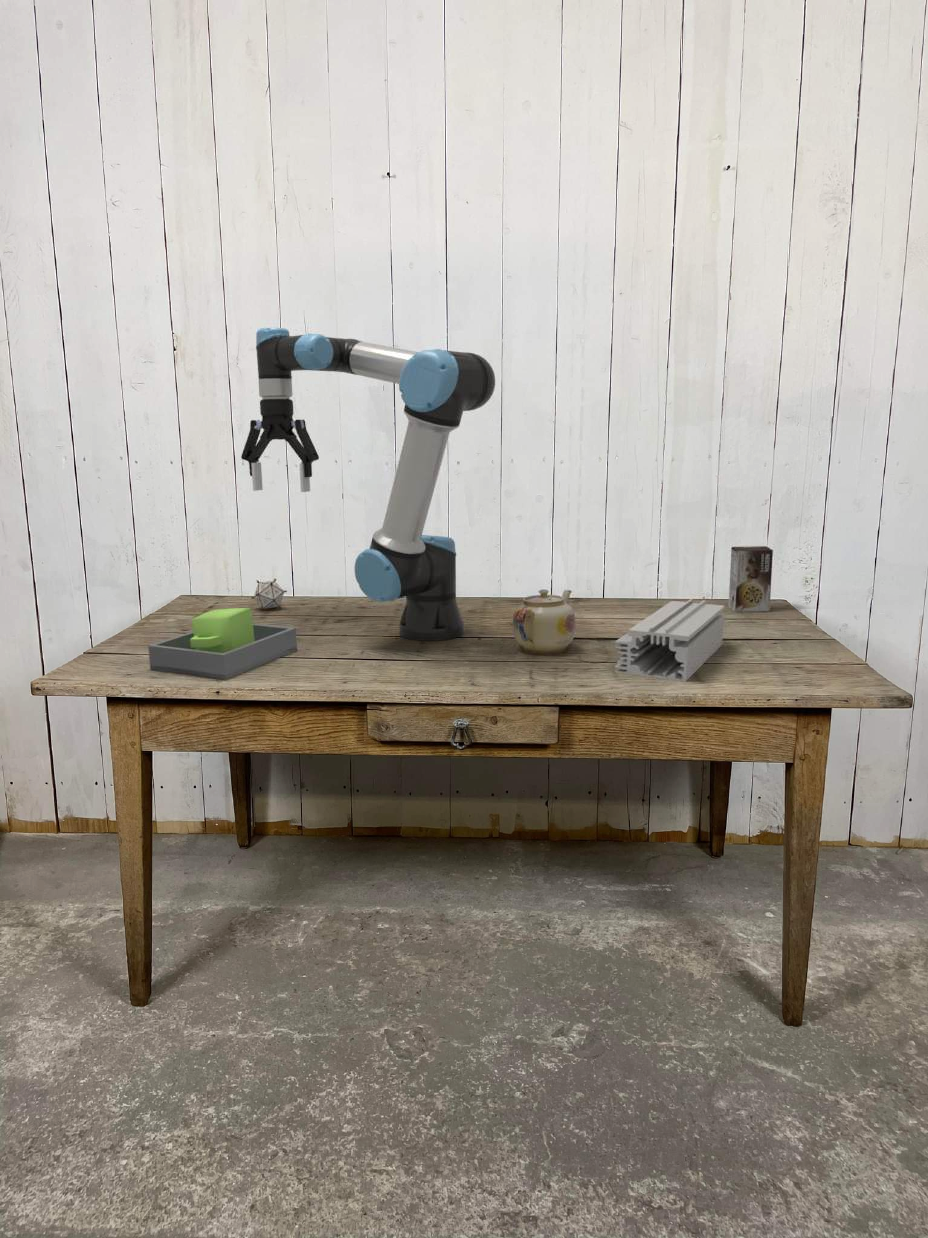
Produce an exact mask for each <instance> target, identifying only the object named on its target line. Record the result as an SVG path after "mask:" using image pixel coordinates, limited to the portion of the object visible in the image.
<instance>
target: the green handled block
mask: <svg viewBox="0 0 928 1238" xmlns="http://www.w3.org/2000/svg"><path fill="white" fill-rule="evenodd" d="M252 612H253V611H252V608H249V607H236V608H235V607H234V608H218V609H217V608H216V609H212V610H210V611H207V612H204V613H202V614H200V615H198V616H195V617H193V618H192V619H191V622H192V631H193V634H194V637H193V638H191V639H190V644H191V648H195V650H200V651H208V652H216V653H225V652H228V651H231V650H233V649H236V648H239V647H241V646H244V645H247V644H249V643H252V642H255V640H254V629H253V624H254V621H253V613H252Z"/></svg>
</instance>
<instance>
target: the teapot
mask: <svg viewBox="0 0 928 1238" xmlns="http://www.w3.org/2000/svg"><path fill="white" fill-rule="evenodd" d="M538 593H539V594H535V595H529V596H526V597H523V599H522V603H521V604H519V605H518V606H517V607H516V608H515V610H514V612H513V616H512V632H513V636H514V639H515V641H516V642H517V643H518V644H519V646H522V649H523V651H524V652H526V653H528V654H533V655H541V656H542V655H543V656H545V655H549V656H550V655H557V654H562V653H564V652H565V651H566V650H567V647H568V646H569V645H570V644H571V643H572V642H573V639H574V638H575V634H576V627H577V626H576V617H575V612H574V610H573V608H572V607H571V606H570V605H569V601H570V595H571V593H572V590H570V589H564V590H563V591H562V595H556V594H554V595H553V594H548V593H549V590H548V589H540V590H538Z"/></svg>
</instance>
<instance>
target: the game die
mask: <svg viewBox="0 0 928 1238" xmlns="http://www.w3.org/2000/svg"><path fill="white" fill-rule="evenodd" d="M256 583H257V586H256V590H255V593H254V595H253V596H251V598H250V599H251V600H255V601H256V603H258V605H259V606H260V607H261V612H263V611H264V610H265V609H273V608H278V609H279V610H282V607H281V606H280V605H281V603H282V600H283V596H284V594H285V593H287V592H288V590H285V589H282V587H281V586H280V585H279V584H278V583H277V577H276V578H274V579H273V580H269V581H262V582H261V581H259V580H257V579H256Z"/></svg>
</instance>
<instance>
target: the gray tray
mask: <svg viewBox="0 0 928 1238" xmlns="http://www.w3.org/2000/svg"><path fill="white" fill-rule="evenodd" d="M253 629H254V640H255V642H252V643H249V644H247V645H244V646H241V647H239V648H236V649H233V650H231V651H228V652H225V653H216V652H208V651H200V650H195V648H191V644H190V639H191V638H193V637H194V634H193V630H192V631H190V632H187V633H184V634H181V635H177V636H174V637H171V638H168V639H165V640H162V641H159V642H156V643H153V644H149V645H147V649H148V658H149V669H150V670H151V671H159V672H164V673H172V674H173V673H175V674H181V675H188V676H195V677H200V678H201V677H202V678H210V679H217V680H225V681H226V680H230V679H232V678H234V677H236V676H239V675H241V674H243V673H247V672H248V671H250V670H253V669H256V668H258V667H260V666H262V665H265V664H267V663H270V662H272V661H275V660H277V659H279V658H282V657H285V656H287V655H289V654H291V652H292V653H295V652H296V650H297V651H298V645H297V644H298V642H297V641H298V640H297V629H296V627H290V626H281V625H279V626H277V625H270V624H259V623H253ZM288 653H289V654H288Z"/></svg>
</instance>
